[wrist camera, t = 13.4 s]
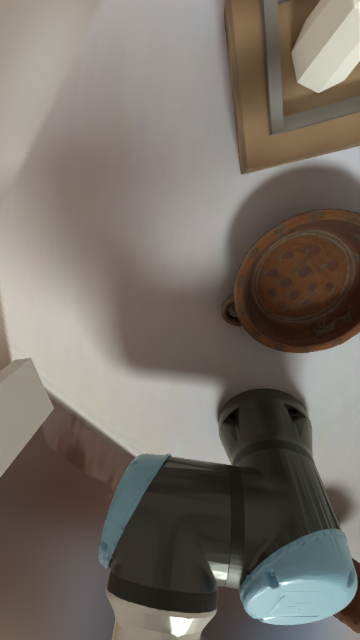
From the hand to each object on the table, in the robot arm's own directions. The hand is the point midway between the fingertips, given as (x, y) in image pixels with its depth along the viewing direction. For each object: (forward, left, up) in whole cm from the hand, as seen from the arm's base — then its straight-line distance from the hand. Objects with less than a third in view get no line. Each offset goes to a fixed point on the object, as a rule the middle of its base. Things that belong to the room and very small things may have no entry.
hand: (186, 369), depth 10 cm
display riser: (+15, -13, -27) cm, 33 cm away
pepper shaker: (+15, -13, -21) cm, 29 cm away
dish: (-6, -12, -28) cm, 31 cm away
